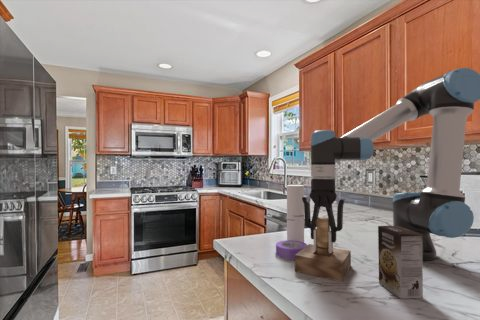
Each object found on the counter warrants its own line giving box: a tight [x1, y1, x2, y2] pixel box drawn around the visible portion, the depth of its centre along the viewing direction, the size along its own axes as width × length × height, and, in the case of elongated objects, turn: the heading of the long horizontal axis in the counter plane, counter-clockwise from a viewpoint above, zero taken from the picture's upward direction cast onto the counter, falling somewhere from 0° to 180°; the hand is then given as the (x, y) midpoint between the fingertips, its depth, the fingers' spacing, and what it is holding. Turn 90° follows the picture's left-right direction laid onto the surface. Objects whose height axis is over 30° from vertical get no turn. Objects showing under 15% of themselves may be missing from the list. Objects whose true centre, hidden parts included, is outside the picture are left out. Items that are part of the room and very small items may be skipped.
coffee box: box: [377, 225, 424, 300], centre depth 69 cm, size 9×6×16 cm
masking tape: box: [275, 239, 308, 260], centre depth 98 cm, size 12×12×4 cm
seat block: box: [294, 243, 352, 283], centre depth 84 cm, size 14×14×5 cm
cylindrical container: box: [286, 184, 305, 243], centre depth 110 cm, size 7×7×25 cm
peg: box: [316, 216, 331, 257], centre depth 84 cm, size 4×4×14 cm
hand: (323, 250), depth 84 cm, fingers closed on peg, 4 cm apart
